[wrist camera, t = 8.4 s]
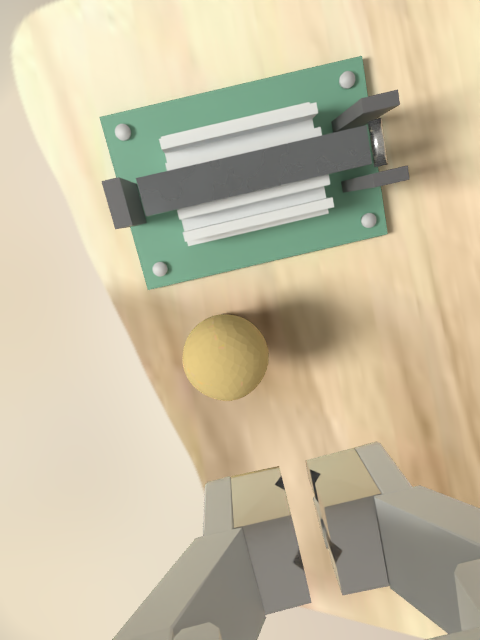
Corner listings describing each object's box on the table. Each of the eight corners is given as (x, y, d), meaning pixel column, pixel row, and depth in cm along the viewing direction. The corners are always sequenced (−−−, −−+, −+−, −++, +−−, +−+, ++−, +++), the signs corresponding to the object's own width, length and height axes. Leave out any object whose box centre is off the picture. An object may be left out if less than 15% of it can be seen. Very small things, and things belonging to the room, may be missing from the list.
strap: (378, 120, 31) (383, 117, 30) (384, 164, 32) (390, 163, 31) (136, 175, 30) (134, 174, 29) (148, 219, 31) (147, 219, 30)
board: (358, 59, 36) (401, 13, 28) (384, 233, 39) (428, 238, 31) (102, 119, 36) (68, 91, 28) (149, 288, 39) (131, 308, 31)
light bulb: (211, 284, 39) (210, 308, 30) (272, 321, 40) (290, 355, 31) (175, 345, 40) (162, 386, 31) (235, 378, 41) (241, 429, 32)
